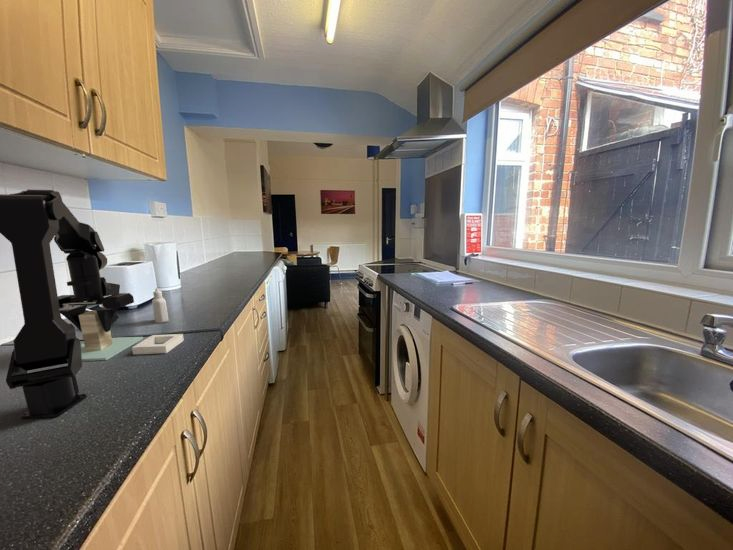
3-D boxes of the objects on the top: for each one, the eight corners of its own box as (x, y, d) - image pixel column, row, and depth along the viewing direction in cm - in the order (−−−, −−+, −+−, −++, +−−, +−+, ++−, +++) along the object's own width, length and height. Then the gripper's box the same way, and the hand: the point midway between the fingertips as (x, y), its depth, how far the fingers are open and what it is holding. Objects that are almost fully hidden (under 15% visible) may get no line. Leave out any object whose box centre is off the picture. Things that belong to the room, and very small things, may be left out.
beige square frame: (166, 353, 80) (165, 346, 79) (133, 354, 79) (131, 347, 79) (183, 340, 88) (182, 333, 88) (153, 341, 88) (152, 335, 87)
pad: (106, 360, 76) (105, 357, 76) (48, 362, 76) (47, 360, 76) (143, 338, 90) (142, 336, 90) (94, 340, 89) (93, 338, 89)
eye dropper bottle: (170, 317, 109) (165, 285, 107) (168, 322, 104) (163, 288, 102) (155, 319, 107) (150, 287, 105) (153, 324, 102) (147, 290, 100)
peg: (101, 350, 81) (94, 314, 79) (85, 350, 81) (78, 315, 79) (112, 344, 85) (106, 310, 83) (97, 344, 85) (91, 310, 83)
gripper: (142, 269, 87) (150, 320, 90) (75, 271, 86) (85, 323, 89) (113, 276, 77) (123, 334, 79) (35, 279, 76) (49, 337, 78)
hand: (96, 332), depth 82 cm, fingers open, 6 cm apart
